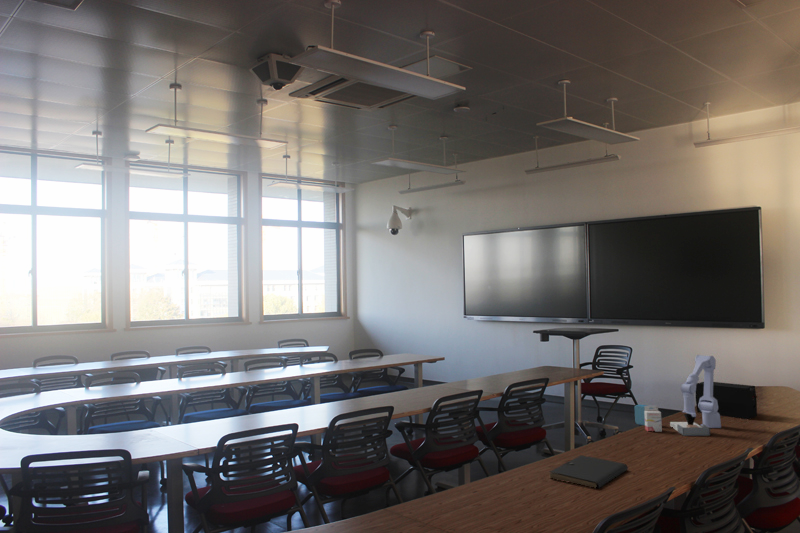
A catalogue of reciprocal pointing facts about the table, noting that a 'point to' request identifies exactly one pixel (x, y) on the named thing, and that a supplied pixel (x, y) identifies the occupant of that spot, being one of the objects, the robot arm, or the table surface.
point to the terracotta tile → (692, 426)
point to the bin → (694, 431)
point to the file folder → (588, 471)
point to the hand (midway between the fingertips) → (690, 426)
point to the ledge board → (683, 424)
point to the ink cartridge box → (652, 419)
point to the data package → (640, 414)
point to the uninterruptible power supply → (731, 399)
